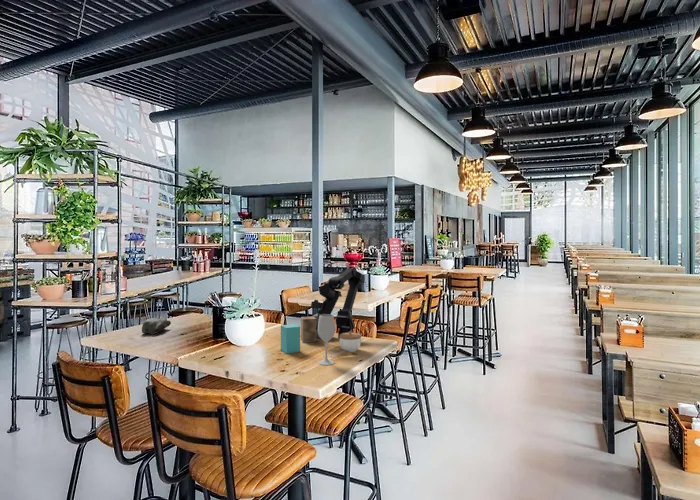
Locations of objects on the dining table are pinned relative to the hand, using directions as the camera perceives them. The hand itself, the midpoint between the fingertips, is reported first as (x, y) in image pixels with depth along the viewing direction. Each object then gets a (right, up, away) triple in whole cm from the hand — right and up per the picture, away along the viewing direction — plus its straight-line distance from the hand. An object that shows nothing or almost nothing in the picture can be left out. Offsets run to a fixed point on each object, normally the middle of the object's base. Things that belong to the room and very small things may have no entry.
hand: (316, 329), depth 217 cm
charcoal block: (+1, -8, +21) cm, 22 cm away
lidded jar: (+17, -10, -5) cm, 20 cm away
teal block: (-12, -9, -9) cm, 17 cm away
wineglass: (+6, -10, -26) cm, 29 cm away
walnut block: (-5, -8, +12) cm, 15 cm away
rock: (-96, -8, +35) cm, 102 cm away
